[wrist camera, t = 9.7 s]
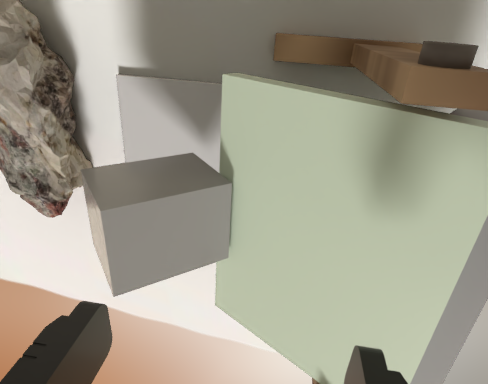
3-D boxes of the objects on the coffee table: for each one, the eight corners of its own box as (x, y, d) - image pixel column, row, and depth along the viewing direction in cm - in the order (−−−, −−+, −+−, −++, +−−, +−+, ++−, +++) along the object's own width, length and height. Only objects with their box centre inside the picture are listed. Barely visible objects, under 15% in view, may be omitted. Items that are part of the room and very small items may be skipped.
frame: (253, 269, 28) (229, 412, 18) (277, 25, 19) (256, 30, 9) (353, 283, 27) (386, 441, 17) (421, 35, 19) (569, 52, 9)
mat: (134, 228, 28) (132, 230, 27) (118, 74, 22) (116, 75, 22) (294, 249, 26) (294, 252, 26) (320, 92, 21) (320, 93, 20)
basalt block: (192, 152, 20) (80, 169, 17) (231, 183, 16) (100, 211, 13) (193, 218, 22) (93, 244, 19) (228, 257, 18) (113, 296, 15)
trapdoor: (260, 270, 25) (215, 304, 21) (281, 68, 18) (222, 74, 15) (437, 377, 18) (410, 450, 15) (571, 116, 11) (573, 145, 8)
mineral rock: (-53, -28, 21) (-133, -38, 17) (67, -22, 20) (12, -32, 16) (11, 185, 28) (-35, 213, 24) (103, 196, 27) (70, 226, 23)
